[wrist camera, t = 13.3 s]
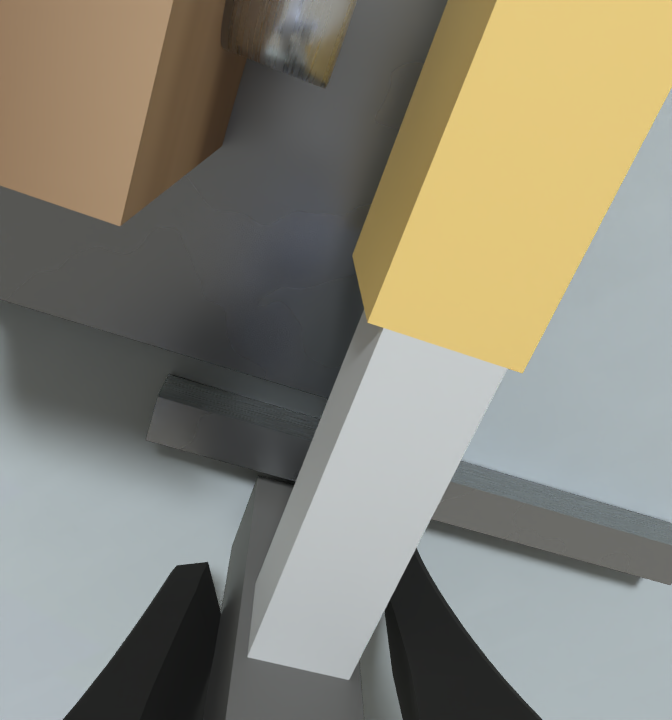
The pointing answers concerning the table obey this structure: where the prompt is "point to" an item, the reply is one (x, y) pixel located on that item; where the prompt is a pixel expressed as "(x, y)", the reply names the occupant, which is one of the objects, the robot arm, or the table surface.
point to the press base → (284, 281)
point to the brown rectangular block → (139, 88)
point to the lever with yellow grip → (436, 325)
